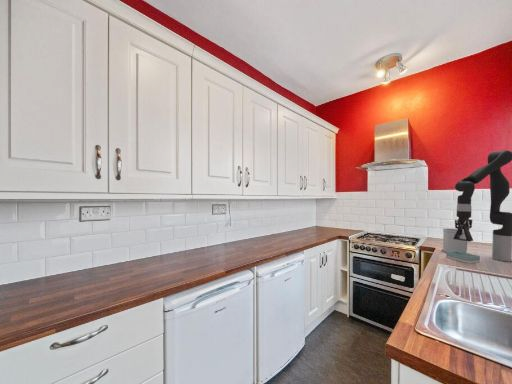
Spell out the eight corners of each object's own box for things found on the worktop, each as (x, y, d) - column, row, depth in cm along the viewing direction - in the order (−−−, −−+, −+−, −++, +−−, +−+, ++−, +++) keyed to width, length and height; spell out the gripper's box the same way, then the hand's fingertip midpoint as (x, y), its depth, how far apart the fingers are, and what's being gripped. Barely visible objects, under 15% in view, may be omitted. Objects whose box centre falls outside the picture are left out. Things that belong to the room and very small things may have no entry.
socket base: (456, 256, 166) (456, 250, 166) (479, 261, 153) (479, 255, 153) (446, 257, 163) (446, 251, 163) (468, 263, 150) (469, 257, 150)
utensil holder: (473, 255, 169) (474, 231, 169) (453, 254, 170) (453, 231, 169) (456, 249, 184) (457, 228, 184) (437, 249, 184) (438, 227, 184)
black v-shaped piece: (473, 240, 156) (473, 223, 156) (470, 241, 153) (470, 223, 152) (456, 238, 163) (456, 221, 163) (453, 239, 160) (453, 221, 160)
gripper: (464, 209, 163) (464, 233, 164) (450, 210, 159) (449, 234, 159) (477, 210, 156) (476, 235, 156) (463, 211, 152) (462, 236, 152)
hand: (463, 234), depth 158 cm, fingers closed on black v-shaped piece, 6 cm apart
